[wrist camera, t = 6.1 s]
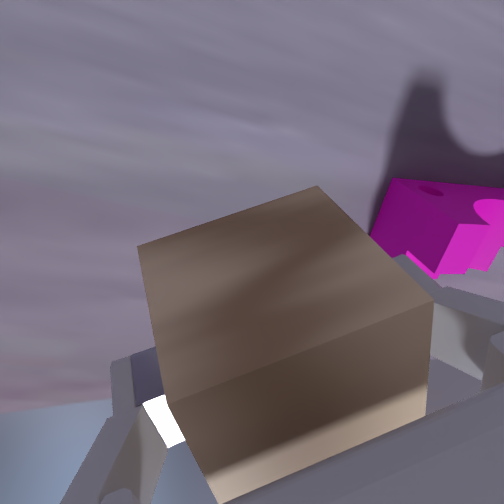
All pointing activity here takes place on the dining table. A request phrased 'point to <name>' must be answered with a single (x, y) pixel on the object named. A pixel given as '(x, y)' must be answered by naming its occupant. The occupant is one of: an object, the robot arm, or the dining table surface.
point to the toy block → (441, 225)
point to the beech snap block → (284, 338)
